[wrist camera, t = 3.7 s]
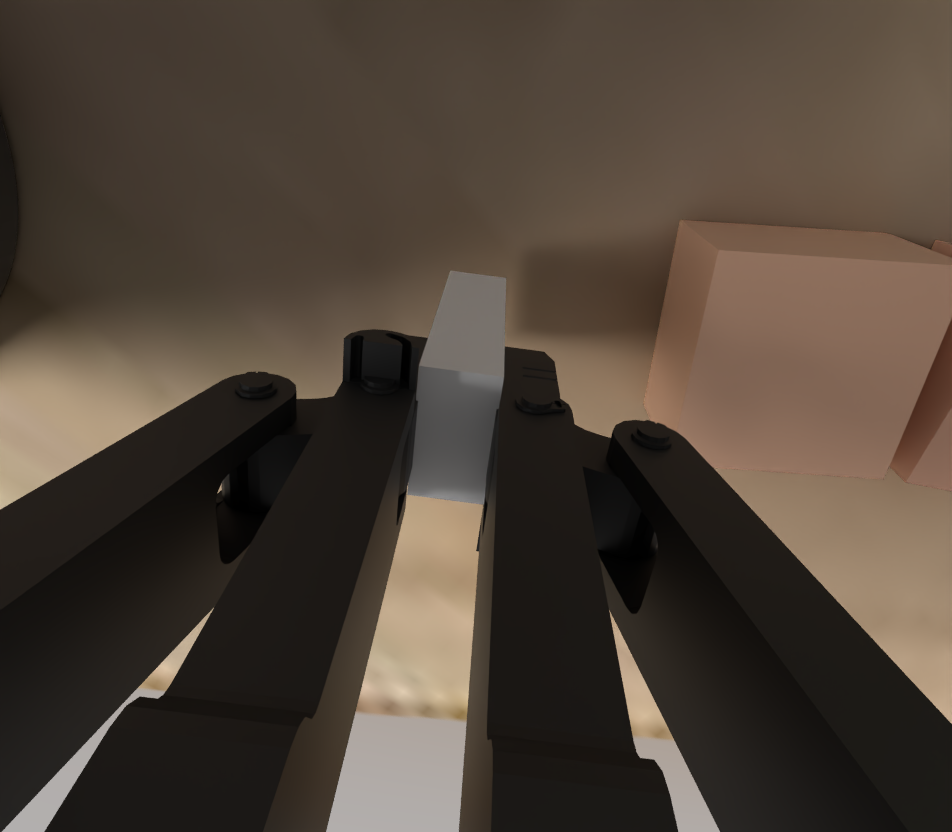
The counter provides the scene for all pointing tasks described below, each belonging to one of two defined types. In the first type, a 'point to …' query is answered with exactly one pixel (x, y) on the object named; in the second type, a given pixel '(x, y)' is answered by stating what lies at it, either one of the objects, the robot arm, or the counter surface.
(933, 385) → the terracotta tile
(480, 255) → the counter surface
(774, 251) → the terracotta tile
